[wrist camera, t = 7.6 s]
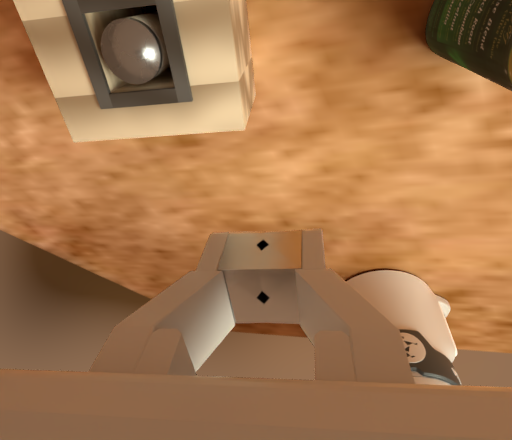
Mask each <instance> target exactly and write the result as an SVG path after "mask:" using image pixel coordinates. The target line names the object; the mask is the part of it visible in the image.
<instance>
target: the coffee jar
mask: <svg viewBox="0 0 512 440" xmlns="http://www.w3.org/2000/svg"><path fill="white" fill-rule="evenodd" d="M426 41H427V44H428V46H429V47H430V49H431V50H432V51H433V52H434V53H435V54H437V55H439V56H441V57H443V58H445V59H447V60H449V61H451V62H453V63H455V64H457V65H460V66H462V67H464V68H466V69H468V70H470V71H472V72H474V73H476V74H478V75H480V76H482V77H484V78H486V79H488V80H490V81H492V82H495V83H497V84H499V85H501V86H503V87H505V88H506V89H509V90H511V91H512V0H434V2H433V5H432V7H431V10H430V13H429V16H428V20H427V25H426Z"/></svg>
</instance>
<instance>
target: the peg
mask: <svg viewBox="0 0 512 440" xmlns="http://www.w3.org/2000/svg"><path fill="white" fill-rule="evenodd" d="M101 52H102V55H103V58H104V61H105V63H106V64H107V66H108V68H109V69H110V70H111V71H112V72H113V74H114V75H116V76H117V77H118V78H120V79H121V80H123V81H125V82H127V83H131V84H143V83H146V82H148V81H150V80H151V79H153V78H154V77H156V76H157V75H159V74H160V73H161V72H163V71H164V70H166V69H167V68H169V67H170V64H169V59H168V55H167V51H166V46H165V42H164V37H163V33H162V29H161V24H160V20H159V15H158V11H157V12H152V13H147V14H141V15H136V16H131V17H126V18H121V19H117V20H114V21H112V22H111V23H109V24H108V25H107V26H106V28H105V29H104V31H103V33H102V37H101Z"/></svg>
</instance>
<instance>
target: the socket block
mask: <svg viewBox="0 0 512 440" xmlns="http://www.w3.org/2000/svg"><path fill="white" fill-rule="evenodd" d="M13 1H14V4H15V6H16V8H17V11H18V13H19V15H20V18H21V20H22V22H23V25H24V27H25V29H26V32H27V34H28V36H29V39H30V41H31V44H32V46H33V48H34V51H35V53H36V55H37V58H38V60H39V62H40V65H41V67H42V69H43V72H44V74H45V76H46V79H47V81H48V83H49V86H50V88H51V90H52V93H53V95H54V97H55V100H56V102H57V104H58V107H59V109H60V111H61V114H62V116H63V118H64V121H65V123H66V125H67V128H68V130H69V132H70V135H71V137H72V139H73V142H87V141H101V140H115V139H128V138H142V137H156V136H170V135H184V134H197V133H211V132H225V131H239V130H245V128H246V125H247V121H248V118H249V115H250V112H251V108H252V105H253V102H254V99H255V95H256V93H255V83H254V73H253V63H252V53H251V43H250V33H249V23H248V13H247V3H246V0H13ZM149 5H156V7H157V11H158V15H159V20H160V24H161V29H162V33H163V37H164V42H165V46H166V51H167V55H168V59H169V64H170V67H169V68H167V69H166V70H164V71H163V72H161V73H160V74H159V75H157V76H156V77H154V78H153V79H151V80H150V81H148V82H146V83H143V84H131V83H127V82H125V81H123V80H121V79H120V78H118V77H117V76H116V75H114V74H113V72H112V71H111V70H110V69H109V68H108V66H107V64H106V63H105V61H104V58H103V55H102V52H101V37H102V33H103V31H104V29H105V28H106V26H107V25H108V24H109V23H111V22H112V21H114V20H117V19H121V18H126V17H131V16H136V15H141V14H142V10H141V6H149Z"/></svg>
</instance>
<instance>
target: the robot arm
mask: <svg viewBox="0 0 512 440" xmlns="http://www.w3.org/2000/svg"><path fill="white" fill-rule="evenodd" d="M450 309H451V308H450V305H449V302H448V301H447V300H445V299H444V298H442V297H440V296H437V295H435V294H434V293H433V292H432V291H431V289H430V288H429V287H428V285H427V284H426V283H425V282H424V281H422V280H421V279H419V278H418V277H416V276H414V275H412V274H409V273H405V272H401V271H394V270H380V271H372V272H368V273H364V274H361V275H358V276H356V277H353V278H351V279H349V280H348V281H345V280H343V279H342V278H341V277H340V276H339V275H338V274H337V273H336V272H335V271H333V270H332V269H326V267H325V255H324V243H323V231H322V229H321V228H319V229H305V230H294V231H274V232H266V231H264V232H216V233H212V234H210V236H209V238H208V241H207V243H206V246H205V248H204V251H203V253H202V256H201V258H200V261H199V264H198V266H197V269H196V271H190V272H188V273H187V274H186V275H184V276H183V277H182V278H180V279H179V280H177V281H176V282H175V283H173V284H172V285H171V286H169V287H168V288H166V289H165V290H164V291H162V292H161V293H160V294H158V295H157V296H155V297H154V298H153V299H151V300H150V301H149V302H147V303H146V304H144V305H143V306H142V307H140V308H139V309H138V310H136V311H135V312H133V313H132V314H131V315H129V316H128V317H127V318H125V319H124V320H123V321H121V322H120V323H118V324H117V325H116V326H115V327H114V328H113V330H112V332H111V334H110V335H109V337H108V339H107V340H106V342H105V344H104V345H103V347H102V349H101V351H100V352H99V354H98V356H97V358H96V359H95V361H94V363H93V365H92V366H91V368H90V370H89V371H88V372H80V371H52V370H24V369H0V440H512V387H486V386H485V387H484V386H461V382H460V379H459V377H458V374H457V373H456V371H455V370H454V368H453V365H452V362H453V361H454V358H455V356H457V349H456V346H455V343H454V340H453V338H452V335H451V332H450V329H449V327H448V324H447V321H446V319H445V318H446V317H447V315H448V314H449V312H450ZM235 323H286V324H300V326H301V328H302V329H303V331H304V332H305V334H306V335H307V337H308V338H309V340H310V342H311V343H312V345H313V346H314V348H315V380H296V379H294V380H293V379H269V378H243V377H216V376H197V374H196V371H197V370H198V369H199V368H200V367H201V365H202V364H203V363H204V362H205V361H206V359H207V358H208V357H209V356H210V355H211V354H212V352H213V351H214V350H215V349H216V347H217V346H218V345H219V344H220V343H221V342H222V340H223V339H224V338H225V337H226V336H227V334H228V333H229V332H230V331H231V330H232V328H233V327H234V326H235Z"/></svg>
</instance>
